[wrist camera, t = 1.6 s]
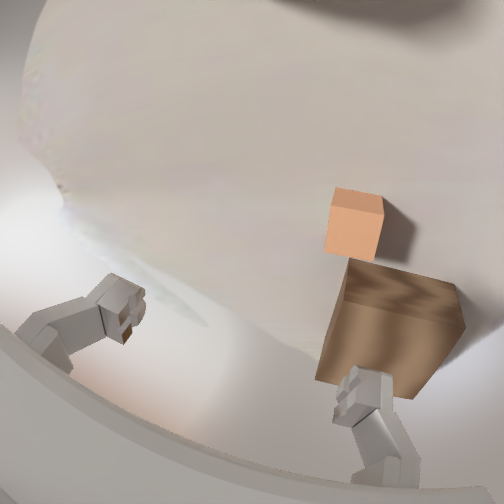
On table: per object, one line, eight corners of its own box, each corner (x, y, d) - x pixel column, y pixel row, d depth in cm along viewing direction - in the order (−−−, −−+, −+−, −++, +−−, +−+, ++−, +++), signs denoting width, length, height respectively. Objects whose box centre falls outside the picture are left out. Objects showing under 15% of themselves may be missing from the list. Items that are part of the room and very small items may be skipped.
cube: (381, 195, 29) (384, 215, 25) (373, 237, 32) (373, 261, 28) (335, 187, 31) (330, 205, 27) (329, 228, 33) (324, 251, 29)
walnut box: (453, 282, 31) (465, 328, 25) (412, 355, 39) (412, 399, 32) (349, 256, 34) (343, 300, 28) (325, 336, 42) (314, 379, 36)
